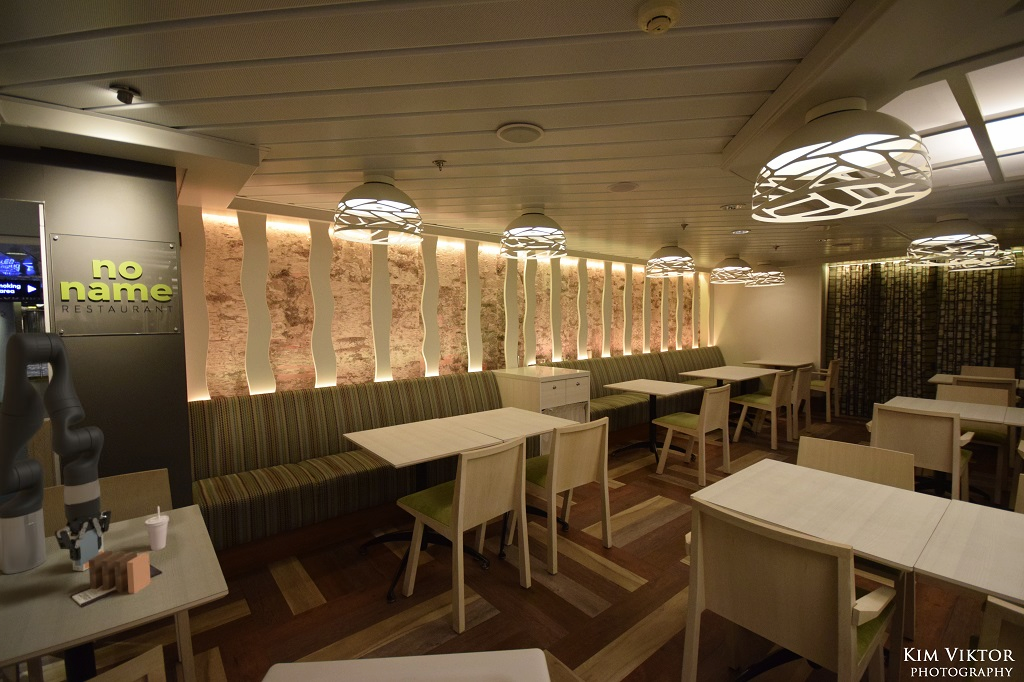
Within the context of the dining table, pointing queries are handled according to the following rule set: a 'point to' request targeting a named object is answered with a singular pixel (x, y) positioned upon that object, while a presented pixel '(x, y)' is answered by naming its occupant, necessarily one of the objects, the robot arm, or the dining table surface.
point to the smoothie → (157, 530)
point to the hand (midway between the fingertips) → (86, 554)
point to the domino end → (138, 573)
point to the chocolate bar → (102, 591)
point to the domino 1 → (88, 547)
